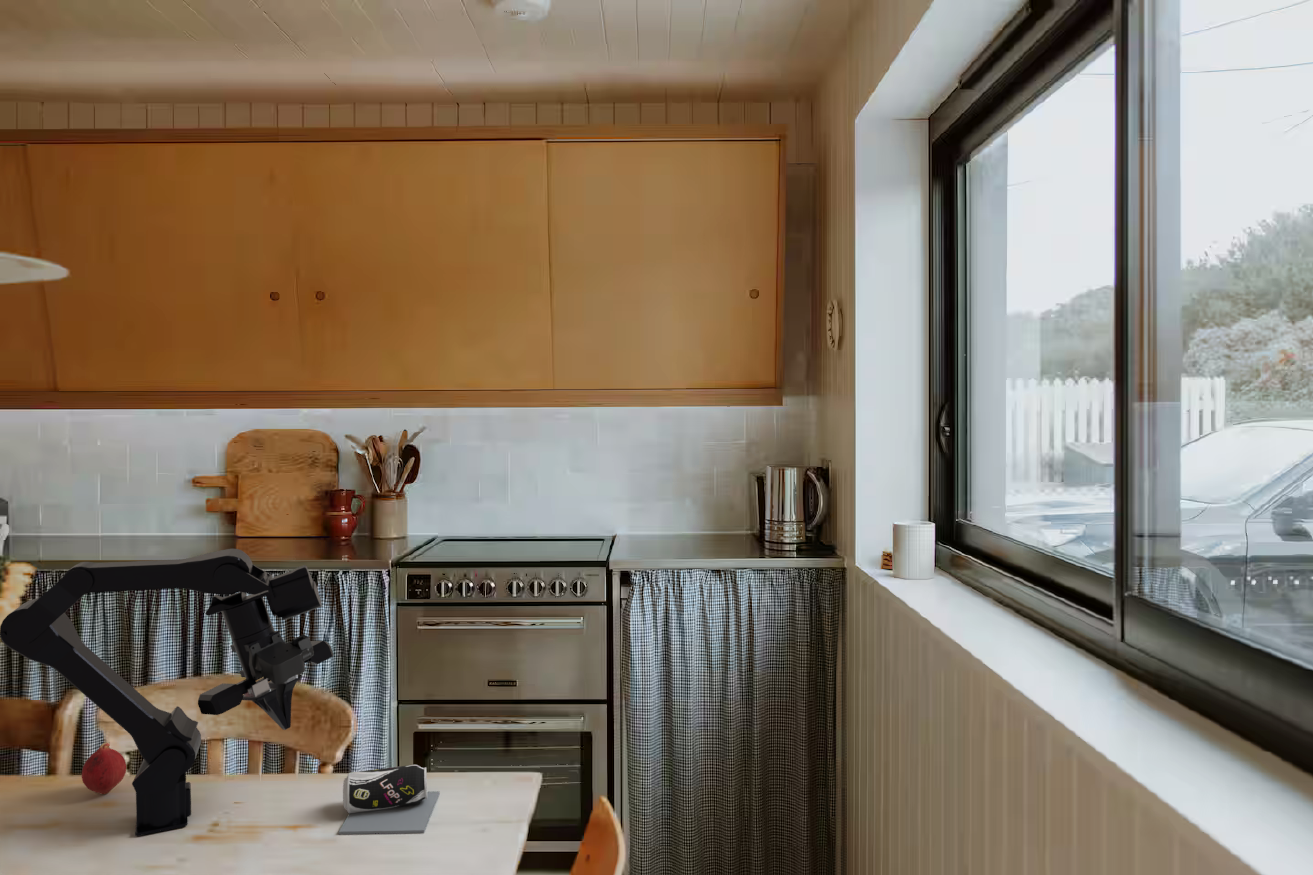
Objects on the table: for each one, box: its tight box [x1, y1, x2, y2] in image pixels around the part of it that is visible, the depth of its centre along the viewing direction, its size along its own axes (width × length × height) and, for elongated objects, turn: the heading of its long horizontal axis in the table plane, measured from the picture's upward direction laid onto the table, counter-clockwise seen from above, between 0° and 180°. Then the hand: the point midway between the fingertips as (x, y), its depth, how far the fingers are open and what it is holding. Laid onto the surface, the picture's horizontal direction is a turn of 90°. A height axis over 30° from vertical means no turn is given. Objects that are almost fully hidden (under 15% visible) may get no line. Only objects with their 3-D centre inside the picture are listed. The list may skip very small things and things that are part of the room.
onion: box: [81, 742, 127, 795], centre depth 134 cm, size 6×6×8 cm
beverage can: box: [342, 764, 428, 814], centre depth 131 cm, size 6×6×12 cm
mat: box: [338, 790, 441, 835], centre depth 130 cm, size 12×12×1 cm
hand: (286, 728), depth 130 cm, fingers closed
